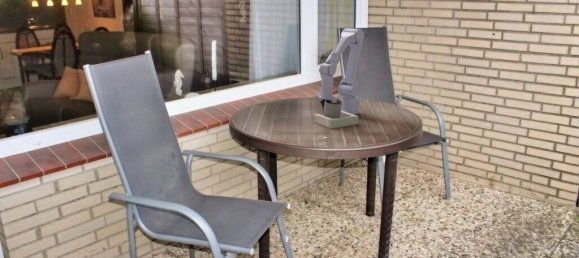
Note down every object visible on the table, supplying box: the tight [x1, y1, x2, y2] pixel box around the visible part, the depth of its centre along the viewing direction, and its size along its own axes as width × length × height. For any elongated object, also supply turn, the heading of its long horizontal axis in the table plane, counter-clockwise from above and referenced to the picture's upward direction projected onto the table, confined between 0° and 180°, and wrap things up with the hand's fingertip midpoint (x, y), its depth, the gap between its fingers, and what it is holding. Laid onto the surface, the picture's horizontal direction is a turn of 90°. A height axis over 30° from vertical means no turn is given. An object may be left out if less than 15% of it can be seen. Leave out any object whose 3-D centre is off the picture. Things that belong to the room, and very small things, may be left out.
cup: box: [322, 98, 342, 119], centre depth 237 cm, size 8×8×10 cm
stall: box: [314, 111, 359, 130], centre depth 236 cm, size 16×14×4 cm
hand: (326, 114), depth 242 cm, fingers closed, pressing on cup
